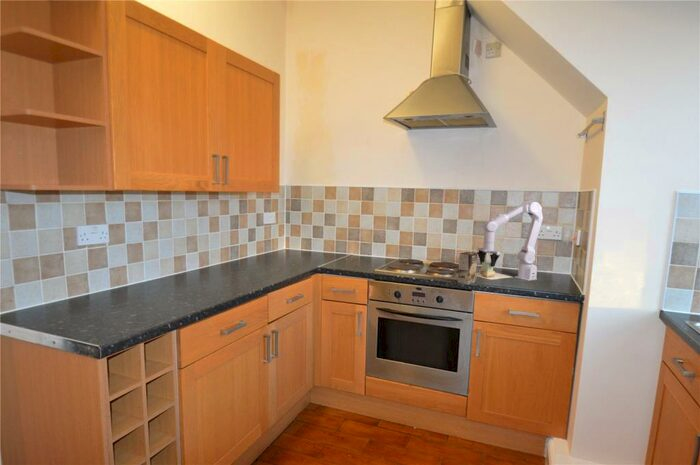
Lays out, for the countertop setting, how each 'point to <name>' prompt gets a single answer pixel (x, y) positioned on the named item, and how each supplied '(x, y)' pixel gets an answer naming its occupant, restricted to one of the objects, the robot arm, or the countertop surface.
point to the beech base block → (486, 273)
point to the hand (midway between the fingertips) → (487, 265)
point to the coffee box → (467, 267)
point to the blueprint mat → (495, 276)
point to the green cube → (486, 266)
